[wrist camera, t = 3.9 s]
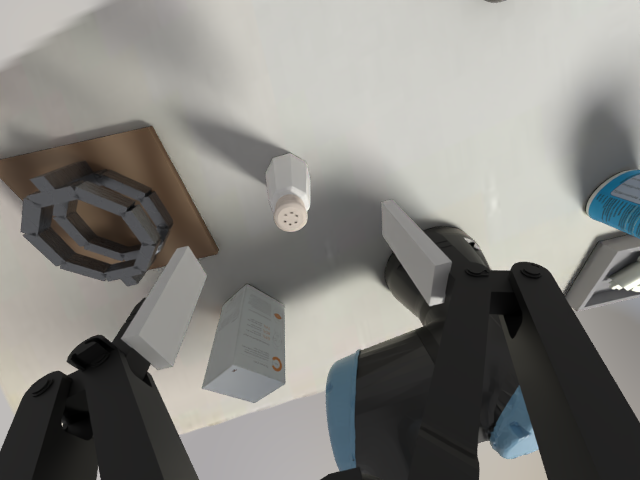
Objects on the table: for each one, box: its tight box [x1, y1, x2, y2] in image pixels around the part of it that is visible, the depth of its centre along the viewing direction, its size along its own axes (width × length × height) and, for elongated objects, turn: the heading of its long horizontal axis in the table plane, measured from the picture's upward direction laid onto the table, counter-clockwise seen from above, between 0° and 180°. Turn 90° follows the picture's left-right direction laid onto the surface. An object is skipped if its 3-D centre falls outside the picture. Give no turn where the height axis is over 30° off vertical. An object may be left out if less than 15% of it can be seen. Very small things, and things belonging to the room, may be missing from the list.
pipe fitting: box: [608, 256, 640, 292], centre depth 45 cm, size 8×4×7 cm
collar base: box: [0, 126, 219, 281], centre depth 28 cm, size 16×16×1 cm
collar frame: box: [21, 160, 174, 286], centre depth 25 cm, size 10×13×5 cm
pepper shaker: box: [265, 153, 311, 232], centre depth 24 cm, size 5×5×11 cm
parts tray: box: [565, 235, 640, 311], centre depth 46 cm, size 16×16×3 cm
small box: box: [202, 284, 285, 403], centre depth 34 cm, size 8×6×13 cm
